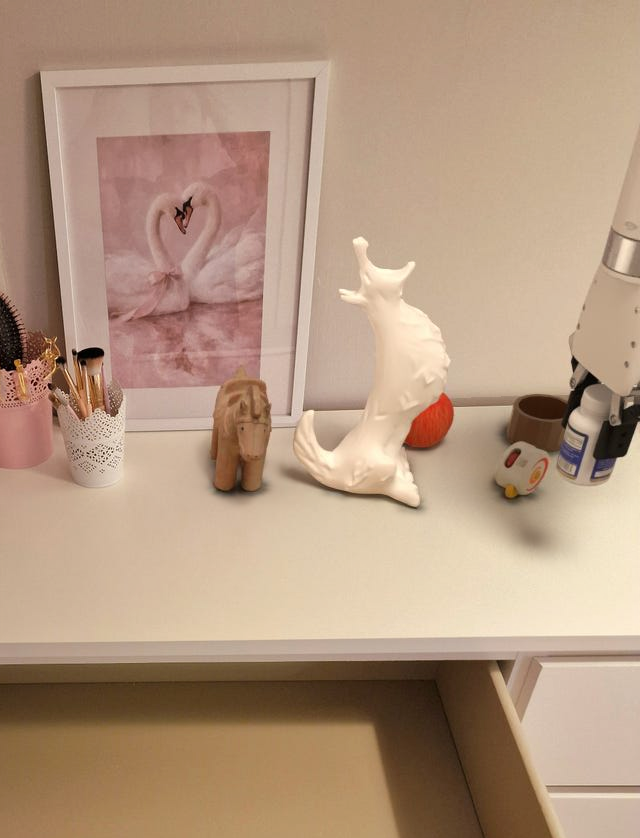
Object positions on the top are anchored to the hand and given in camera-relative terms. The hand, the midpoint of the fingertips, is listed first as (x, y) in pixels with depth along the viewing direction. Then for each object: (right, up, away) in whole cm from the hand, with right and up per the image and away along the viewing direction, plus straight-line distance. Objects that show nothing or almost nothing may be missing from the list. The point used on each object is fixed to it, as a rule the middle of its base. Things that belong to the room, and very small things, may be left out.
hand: (592, 439), depth 86 cm
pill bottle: (0, -3, +3) cm, 4 cm away
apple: (-8, +7, +32) cm, 34 cm away
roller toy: (+2, -1, +22) cm, 23 cm away
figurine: (-32, +1, +26) cm, 42 cm away
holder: (+8, +7, +31) cm, 33 cm away
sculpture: (-18, 0, +25) cm, 30 cm away
